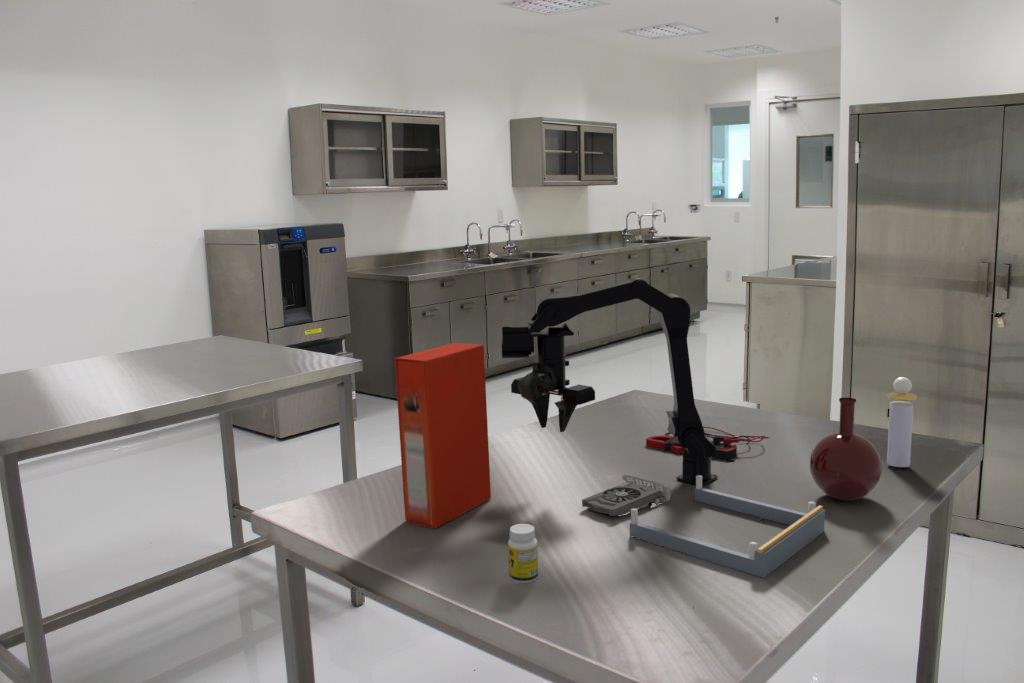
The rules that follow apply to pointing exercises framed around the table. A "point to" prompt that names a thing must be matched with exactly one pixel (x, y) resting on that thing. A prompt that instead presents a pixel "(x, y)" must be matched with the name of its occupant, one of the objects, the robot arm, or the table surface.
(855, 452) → the round-bottom flask
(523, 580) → the supplement bottle
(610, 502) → the graphics card
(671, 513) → the table surface
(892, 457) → the perfume bottle
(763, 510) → the frame
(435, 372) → the file binder
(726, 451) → the digital clamp meter
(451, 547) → the table surface
